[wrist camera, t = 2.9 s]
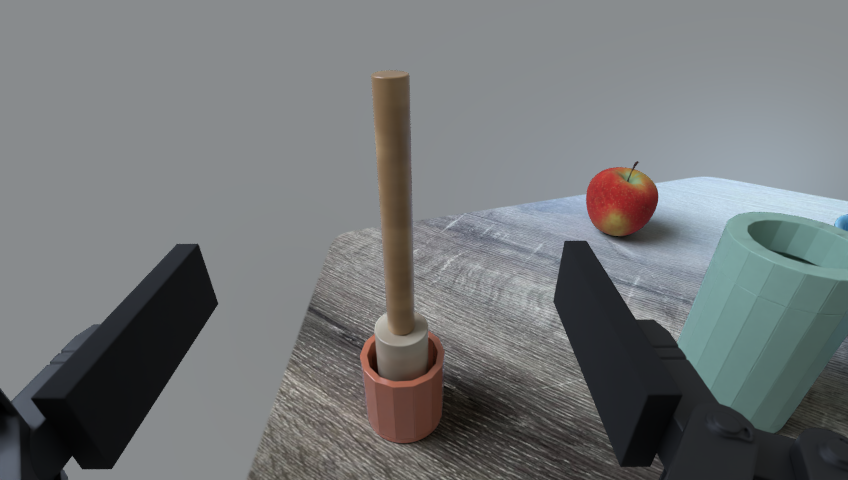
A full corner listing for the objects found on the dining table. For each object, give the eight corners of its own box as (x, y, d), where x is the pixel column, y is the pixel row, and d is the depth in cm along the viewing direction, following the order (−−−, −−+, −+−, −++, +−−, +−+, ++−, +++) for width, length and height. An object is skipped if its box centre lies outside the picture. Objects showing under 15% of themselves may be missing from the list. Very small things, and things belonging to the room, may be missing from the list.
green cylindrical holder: (658, 401, 33) (722, 251, 26) (675, 338, 39) (731, 201, 32) (787, 458, 29) (906, 299, 22) (785, 379, 35) (878, 232, 28)
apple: (612, 212, 60) (629, 144, 55) (660, 239, 54) (684, 165, 49) (566, 224, 58) (580, 153, 52) (611, 254, 51) (632, 177, 46)
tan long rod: (371, 409, 32) (335, 75, 20) (400, 378, 35) (384, 64, 22) (409, 434, 30) (396, 84, 18) (437, 399, 33) (442, 71, 21)
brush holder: (350, 417, 32) (342, 361, 29) (398, 367, 36) (396, 314, 33) (412, 459, 29) (410, 402, 26) (457, 400, 34) (459, 344, 30)
